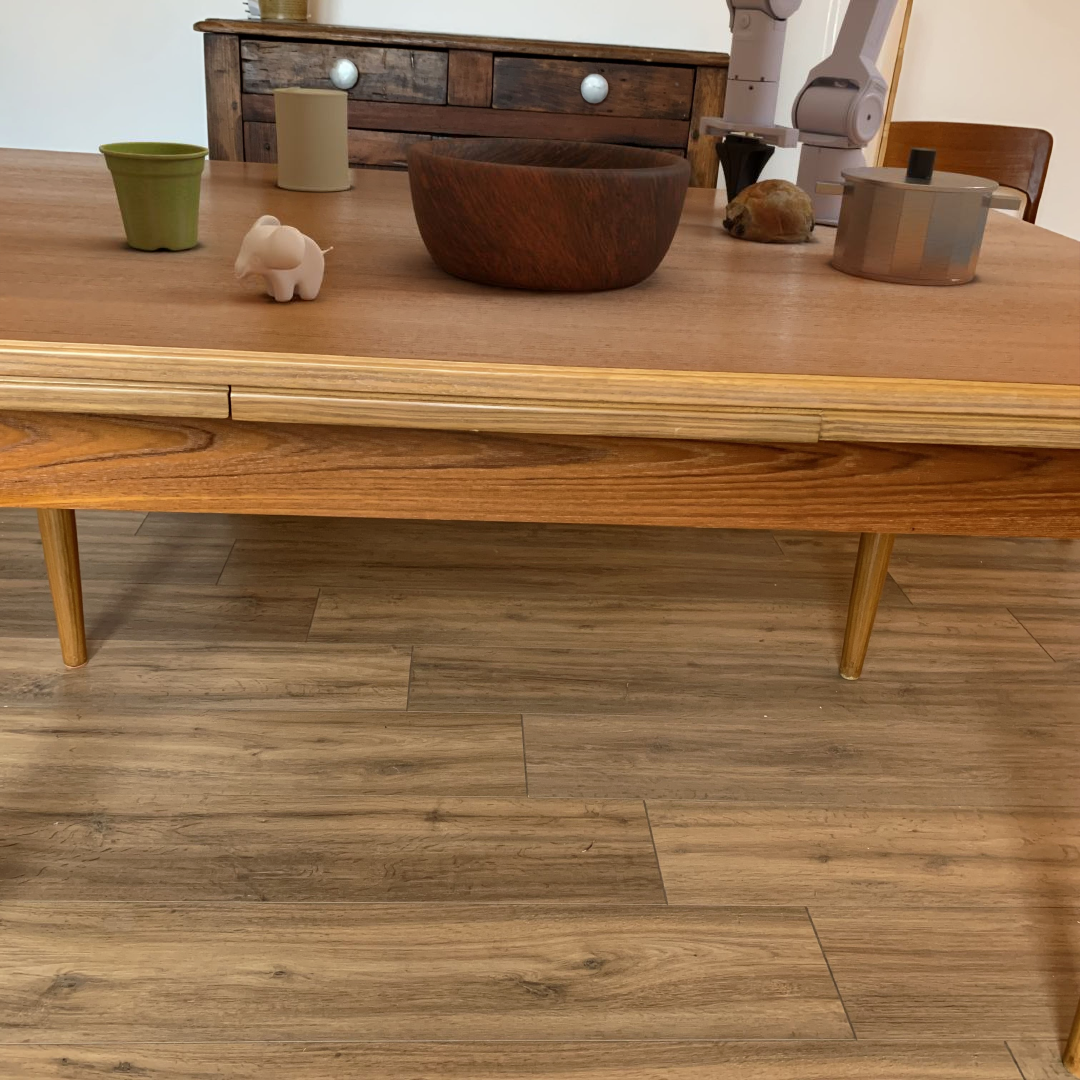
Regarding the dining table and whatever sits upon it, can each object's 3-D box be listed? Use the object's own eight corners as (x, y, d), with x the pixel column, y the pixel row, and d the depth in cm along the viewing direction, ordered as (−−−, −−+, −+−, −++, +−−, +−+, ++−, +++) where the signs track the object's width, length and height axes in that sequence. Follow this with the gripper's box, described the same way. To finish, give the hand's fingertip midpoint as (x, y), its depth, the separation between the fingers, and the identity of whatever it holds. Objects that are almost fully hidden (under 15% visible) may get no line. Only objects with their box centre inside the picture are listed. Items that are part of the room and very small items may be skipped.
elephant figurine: (222, 292, 86) (216, 214, 84) (320, 285, 90) (317, 211, 87) (246, 311, 81) (241, 229, 78) (349, 304, 85) (347, 225, 82)
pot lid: (841, 174, 114) (847, 137, 112) (989, 186, 111) (997, 148, 109) (837, 190, 101) (843, 149, 100) (1003, 204, 98) (1013, 162, 96)
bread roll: (792, 278, 121) (835, 213, 117) (713, 231, 120) (753, 164, 117) (791, 262, 130) (830, 201, 126) (717, 217, 129) (754, 155, 125)
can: (264, 183, 142) (258, 83, 137) (325, 180, 147) (322, 84, 142) (302, 193, 136) (298, 89, 131) (364, 189, 141) (362, 89, 136)
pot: (808, 250, 117) (821, 167, 114) (994, 268, 113) (1014, 182, 109) (800, 273, 105) (814, 181, 102) (1008, 294, 101) (1030, 199, 97)
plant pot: (237, 244, 104) (230, 148, 100) (167, 260, 96) (157, 156, 92) (160, 233, 107) (151, 139, 104) (87, 246, 99) (74, 146, 96)
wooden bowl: (640, 246, 114) (649, 142, 109) (715, 302, 92) (731, 174, 87) (399, 242, 109) (398, 133, 105) (417, 299, 87) (417, 164, 83)
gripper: (684, 75, 125) (672, 198, 131) (771, 84, 114) (753, 218, 120) (731, 77, 128) (717, 196, 134) (820, 85, 117) (800, 215, 123)
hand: (737, 207), depth 127 cm, fingers closed
